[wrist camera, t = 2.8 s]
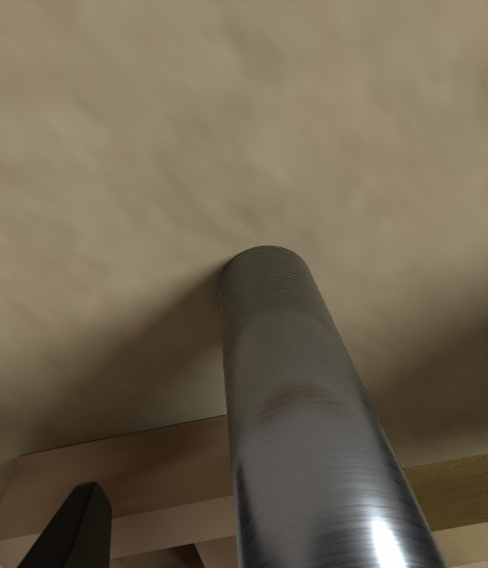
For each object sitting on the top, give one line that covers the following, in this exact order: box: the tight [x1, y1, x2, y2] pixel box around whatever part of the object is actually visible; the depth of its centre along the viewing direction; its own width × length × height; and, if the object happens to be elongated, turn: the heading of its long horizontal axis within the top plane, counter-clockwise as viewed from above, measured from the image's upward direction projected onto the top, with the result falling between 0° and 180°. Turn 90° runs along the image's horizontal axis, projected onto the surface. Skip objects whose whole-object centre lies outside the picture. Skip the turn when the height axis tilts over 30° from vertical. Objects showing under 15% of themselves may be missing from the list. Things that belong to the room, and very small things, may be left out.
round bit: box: [218, 246, 448, 568], centre depth 10 cm, size 3×3×10 cm
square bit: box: [403, 454, 488, 567], centre depth 20 cm, size 8×3×3 cm, turn 98°
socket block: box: [0, 415, 239, 568], centre depth 18 cm, size 9×9×4 cm
